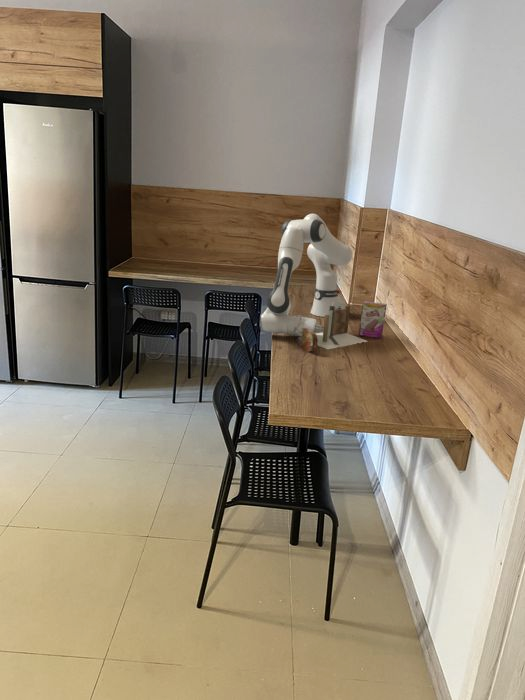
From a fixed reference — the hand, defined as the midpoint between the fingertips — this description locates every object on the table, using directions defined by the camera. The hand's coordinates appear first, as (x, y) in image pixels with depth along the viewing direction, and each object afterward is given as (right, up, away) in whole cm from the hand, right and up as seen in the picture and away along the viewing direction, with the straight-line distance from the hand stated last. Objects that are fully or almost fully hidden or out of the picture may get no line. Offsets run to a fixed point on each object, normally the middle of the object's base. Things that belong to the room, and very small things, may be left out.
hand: (325, 329), depth 242 cm
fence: (+7, -1, +14) cm, 16 cm away
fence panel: (+1, -4, +3) cm, 5 cm away
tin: (-9, -9, -9) cm, 16 cm away
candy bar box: (+24, -3, +15) cm, 29 cm away
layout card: (+4, -4, +6) cm, 8 cm away
